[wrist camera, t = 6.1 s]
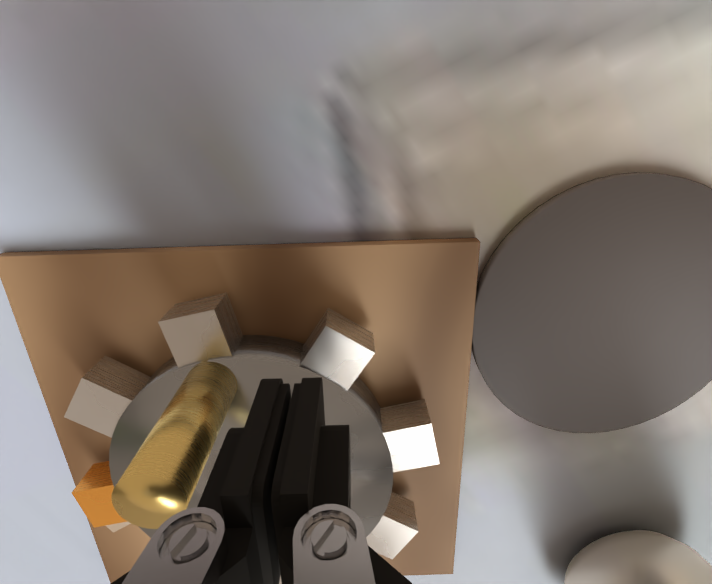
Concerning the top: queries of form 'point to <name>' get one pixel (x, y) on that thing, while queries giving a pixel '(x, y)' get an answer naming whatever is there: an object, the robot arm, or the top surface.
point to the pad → (600, 304)
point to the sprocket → (240, 419)
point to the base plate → (268, 318)
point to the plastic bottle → (638, 561)
